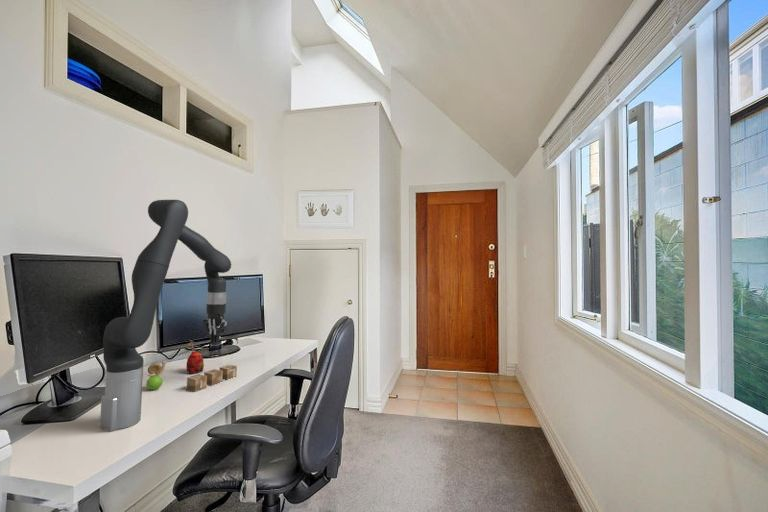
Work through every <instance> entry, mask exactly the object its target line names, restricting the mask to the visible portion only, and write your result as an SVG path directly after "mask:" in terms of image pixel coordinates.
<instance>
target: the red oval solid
mask: <svg viewBox="0 0 768 512" xmlns="http://www.w3.org/2000/svg"><path fill="white" fill-rule="evenodd" d="M189 341H190V343H187V345H188V346H191V349H192V352H191V354H190V355H189V356H188V358H187V359H186V360H187V361H186V366H185V367H186V372H187V373H188V374H190V375H191V374H192V375H194V374H195V375H196V374H198V373H201V372H203V371H204V367H205V363H204V359H203V357H202V354H201V353H200V351H198V352H197V351H196V352H195V350H194V349H195V348H194V345H193V343H194V341H192V340H191V339H189Z"/></svg>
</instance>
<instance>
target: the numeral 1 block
mask: <svg viewBox="0 0 768 512" xmlns="http://www.w3.org/2000/svg"><path fill="white" fill-rule="evenodd" d="M207 386H208V385H207V376H205V375H204V374H201V373H200V374H198V373H196V374H195V375H194V374H193V375H192V376H191V375H190V376H188V377H186V390H187V391H188V392H193V393H196V392H199V391H202V390H205V389H207Z"/></svg>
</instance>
